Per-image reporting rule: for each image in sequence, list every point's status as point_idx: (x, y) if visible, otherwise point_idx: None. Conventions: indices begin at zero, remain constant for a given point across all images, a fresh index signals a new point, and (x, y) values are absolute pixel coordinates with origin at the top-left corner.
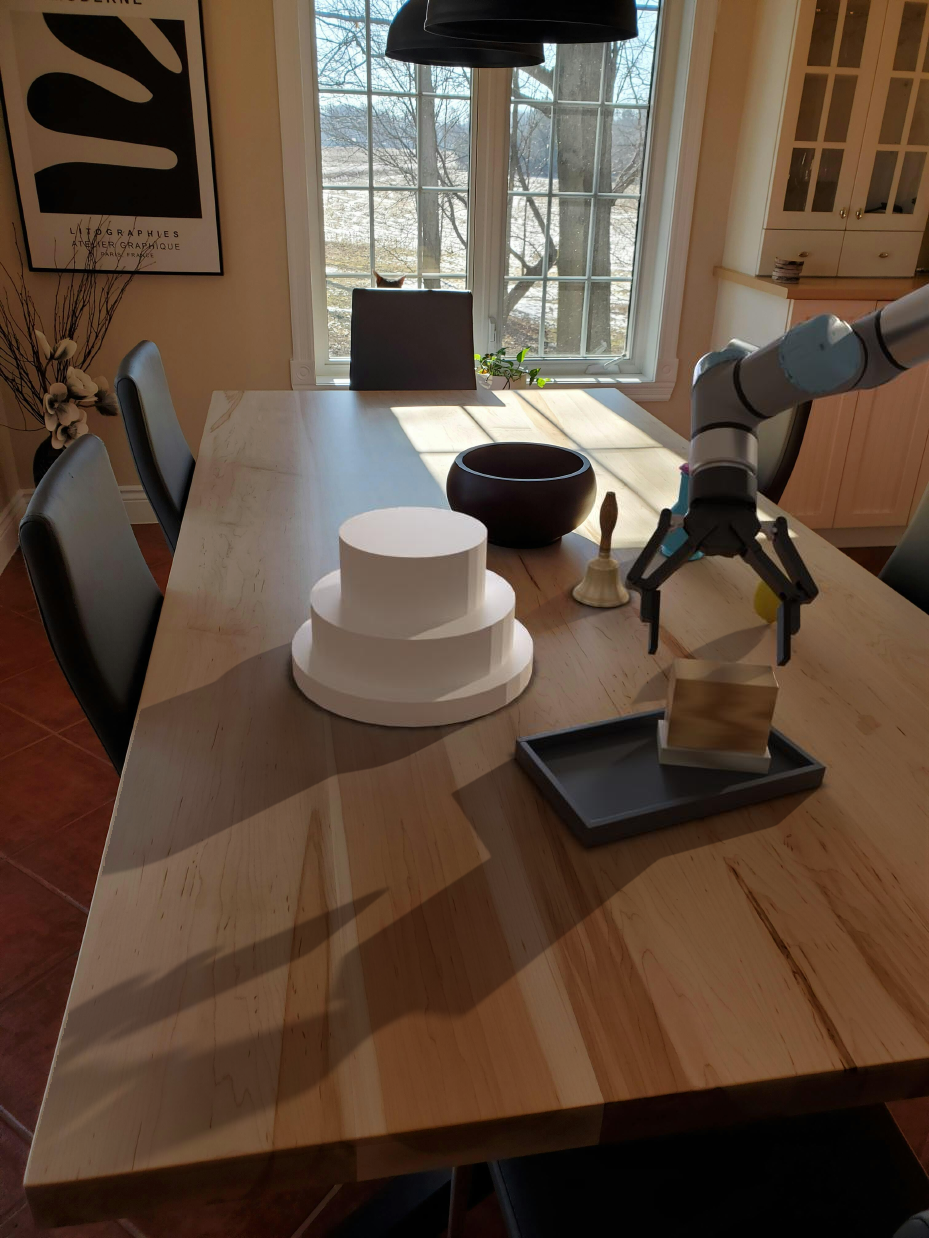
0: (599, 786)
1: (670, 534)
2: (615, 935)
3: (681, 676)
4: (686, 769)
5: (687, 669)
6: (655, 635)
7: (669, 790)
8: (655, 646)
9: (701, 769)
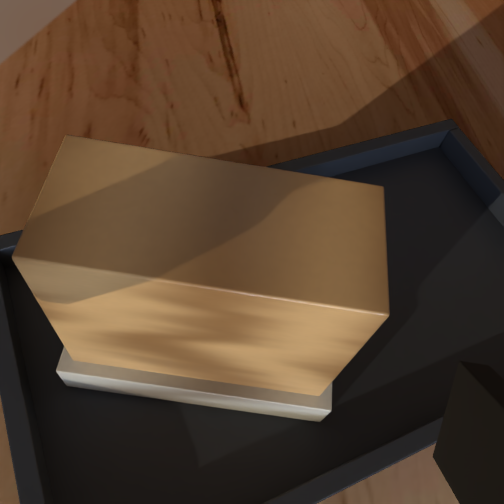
0: (436, 243)
1: None
2: (392, 43)
3: (367, 195)
4: None
5: (343, 232)
6: (498, 390)
7: None
8: (470, 365)
9: None
